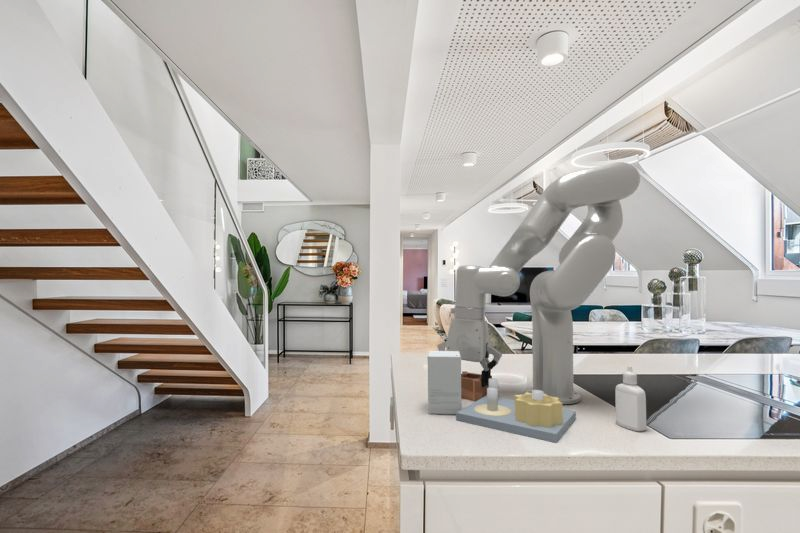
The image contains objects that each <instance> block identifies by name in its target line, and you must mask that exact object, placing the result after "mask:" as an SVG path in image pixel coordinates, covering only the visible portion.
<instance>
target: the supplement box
mask: <svg viewBox="0 0 800 533" xmlns="http://www.w3.org/2000/svg"><path fill="white" fill-rule="evenodd" d="M426 358H427V402H428V409H427V410H428V414H429V415H433V414H435V415H456V412H458V411H460V410H462V398H461V374H462V360H461V356H460V353H459V351H446V350H445V351H439V350H428V355H427V356H426Z"/></svg>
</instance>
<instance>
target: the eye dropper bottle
mask: <svg viewBox="0 0 800 533" xmlns="http://www.w3.org/2000/svg"><path fill="white" fill-rule="evenodd" d="M632 367H633V366H632V365H627V367H626V371H623V372H622V383H619V384H618V383H617V385H616V386H615V393H614V394H615V397H614V398H615V403H614V404H615V408H614V409H615V423H616V424H617V425H618V426H620V427H622V428H624V429H627V430H630V431H632V432H633V431H634V432H644V431H646V430H647V399H646V395H647V394H646V391H645V390H644V389H643V388H642V387H641V386H639V385H637V384H638V375H637V373H636V372H634V371H633V368H632Z"/></svg>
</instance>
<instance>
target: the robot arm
mask: <svg viewBox="0 0 800 533" xmlns="http://www.w3.org/2000/svg"><path fill="white" fill-rule="evenodd" d="M640 183H641V176H640V172H639V171H638V169H637V168H636V167H635V166H634V165H632V164H631V163H627V162H623V161H622V162H620V161H619V162H612V163H611V162H610V163H608V164H604V165H598V166H595V167H590V168H586V169H582V170H577V171H572V172H568V173H565V174H563V175H561V176H559V177H558V178H556V180H554V181H553V182H551V183H550V184H549V185H548V186H547V187H546V188H544V190H543V191H542V193H541V195H540V196H539V198H538V199H537V200H536V202H535V203H534V205H533V206H532V207H531V209H530V210H529V212H528V213H527V214H526V216H525V217H524V219H523V220H522V221H521V223H520V224H519V226H518V227H517V228H516V230H515V231H514V232H513V234H512V235H511V236H510V238H509V239H508V241H507V242H506V244H505V245H504V246H503V247H502V249H501V250H500V251H499V252H498V254H497V255H496V256H495V258H494V259H493V261H492V262H491V263H490V265H489V266H487V267H485V266H481V265H460V266H458V268H457V269H456V278H455V279H456V280H455V281H456V282H455V305H454V307H452V308H450V314H453V316H454V317H453V318H451V320H450V325H449V327H448V333H447V339H446V341H444V342H442V343H441V342H440V343H439V344H437V351H459V353H460V356H461V361H467V362H472V363H473V362H474V363H479V364H480V366H481V368H483V370H481V373H480V374H481V386H482V387H486V386H488V385H489V379H490V377H491V376H492V375H491V374H492V369H493V368H495V366H497V365H498V364H499V361H500V360H501V358H502V357H503V354H502V353H501V352H500V351H498V350H497V349H496V348H494V347H493V346H491V345H490V332H489V325H488V321H487V320H486V296H487V295H492V296H493V295H494V296H498V297H509V296H511V295H514V294H515V293H516V292H517V291H518V290H519V288H520V285H521V278H520V275H519V273H520V272H521V271H522V269H523V268H524V267H525V265H526V264H527V263H528V262H529V261H531V259H532V258H533V257H535V256H537V255H538V254H539V253H541V252H542V251H543V250H545V248H546V247H547V246H548V245H549V244H550V243H551V241H552V240H553V238H554V237H555V235H556V234H557V232H558V231H559V230H560V228H561V226H562V225H563V224H564V222H565V221H566V220H567V218H568V217H569V216H570V214H571V213H572V211H574V210H575V209H577V208H580V207H586V206H587V214H586V216H585V218H584V219H583V221H582V222H581V224H580V225H579V226H578V228H577V229H576V230H575V231H574V232H573V234H572V235H571V236H570V238H569V239H567V241H566V242H565V243H564V245H563V246H562V247H561V248H560V251H559V254H558V263H559V265H558V266H557V267H556V269H555V270H547V271H546V270H545V271H542V272H541V273H539V274H537V275H536V276H535V277H534V278H533V280H532V281H531V284H530V288H529V298H530V299H529V300H530V306H531V307H530V308H531V319H532V387H529V388H527V389H526V391H525V393H532V390H541V391H543V392H544V394H546V395H548V396H551V397H557V398H559V402H561V403H562V405H572V404H573V405H574V404H577V403H579V402H580V401H581V395H580V393H579V392H578V391H574V390H575V389H574V325H573V324H574V323H573V316H572V310H575V309H577V308H579V307H581V305H582V304H584V302H586V301H587V299H588V298H589V297H590V296H591V294H592V293H593V292H594V291H595V289H597V287H598V286H599V285H600V283H601V282H602V281H603V279H604V278H605V277H606V276H607V274H608V273H609V271H610V270H611V269H612V267H613V265H614V262H615V260H616V255H617V254H616V248H615V244H614V243H613V241H614V240H615V239H616V237H617V236H618V235H619V232H620V231H621V229H622V226H623V221H624V217H623V216H624V215H623V208H622V205H621V202H620V201H621V200H623V199H626V198H628V197H630V196H632V195H633V194H634V193H635V192H636V191H637V189H638V187H639V186H640ZM490 354H491V355H492V356H493V358H492V360H491V361H490V360H489V357H490Z"/></svg>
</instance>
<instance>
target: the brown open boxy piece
mask: <svg viewBox="0 0 800 533" xmlns="http://www.w3.org/2000/svg"><path fill="white" fill-rule="evenodd" d="M481 374H482V373H474V372H468V371H461V400H468V401H474V402H476V401H478V400H479V399H481V398H483V397H485V396H486V395H487V388H489V385H488V386H486V387H482V386H481ZM490 378H493V375H491V377H490Z"/></svg>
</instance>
